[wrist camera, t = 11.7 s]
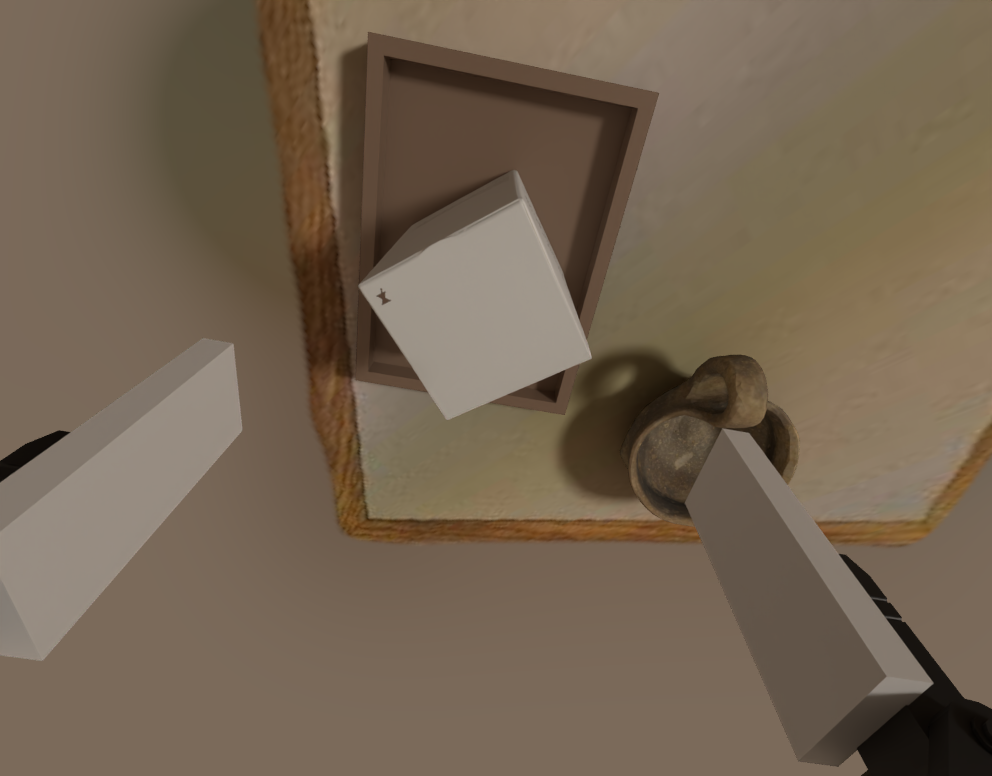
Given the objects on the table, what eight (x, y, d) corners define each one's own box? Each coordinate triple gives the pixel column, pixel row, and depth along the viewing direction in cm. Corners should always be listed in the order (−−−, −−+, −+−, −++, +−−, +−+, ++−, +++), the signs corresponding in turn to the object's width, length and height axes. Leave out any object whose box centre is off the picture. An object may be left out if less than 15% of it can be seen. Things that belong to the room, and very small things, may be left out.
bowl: (609, 487, 48) (631, 567, 40) (625, 324, 40) (656, 381, 31) (749, 485, 48) (802, 566, 39) (795, 319, 39) (876, 376, 30)
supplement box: (465, 326, 40) (442, 427, 26) (408, 225, 36) (348, 285, 23) (567, 278, 37) (597, 363, 24) (518, 165, 34) (522, 193, 20)
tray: (378, 38, 31) (368, 31, 29) (649, 94, 32) (659, 93, 30) (363, 366, 42) (355, 379, 40) (562, 400, 43) (564, 414, 41)
